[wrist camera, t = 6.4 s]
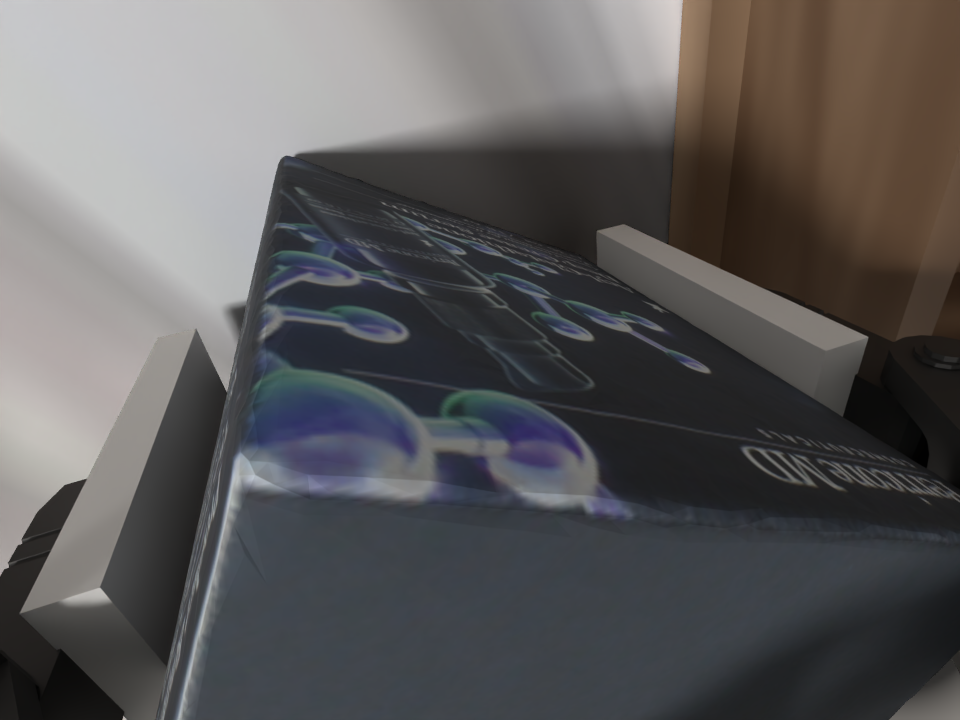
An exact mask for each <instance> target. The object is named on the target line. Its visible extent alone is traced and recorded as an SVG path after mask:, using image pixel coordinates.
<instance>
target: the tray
mask: <svg viewBox="0 0 960 720" xmlns="http://www.w3.org/2000/svg"><path fill="white" fill-rule="evenodd" d="M668 245H670V246H672V247H674V248H676V249H679V250H681V251H683V252H685V253H687V254H689V255H692V256H694V257H696V258H698V259H700V260H703V261H705V262H707V263H709V264H711V265H713V266H716V267H718V268H720V269H722V270H724V271H726V272H729V273H731V274H733V275H735V276H737V277H739V278H742V279H744V280H746V281H748V282H750V283H752V284H755V285H757V286H759V287H763V288H767V289H772V290H776V291H780V292H783V293H786V294H788V295H790V296H792V297H795V298H797V299H799V300H801V301H803V302H805V305H808V304H810V305H812V306H815V307H817V308H819V309H821V310H823V311H824V313H825V314H826V313H830V314H832V315H835V316H837V317H839V318H841V319H843V320H846V321H848V322H850V323H852V324H855V325H857V326H859V327H861V328H863V329H866V330H868V331H870V332H872V333H875V334H877V335H879V336H881V337H883V338H886V339H888V340H890V341H892V342H895V341H897V340H899V339H901V338H904V337H909V336H918V335H929V336H943V337H948V338H953V339H958V340H960V0H683V8H682V25H681V41H680V58H679V74H678V90H677V107H676V123H675V140H674V156H673V173H672V189H671V206H670V222H669V239H668Z"/></svg>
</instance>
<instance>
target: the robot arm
mask: <svg viewBox="0 0 960 720" xmlns="http://www.w3.org/2000/svg"><path fill="white" fill-rule="evenodd" d="M597 266H598V267H600V268H601V269H603V270H605V271H606V272H608V273H609V274H611V275H613V276H614V277H616V278H617V279H619V280H620V281H622V282H624V283H625V284H627V285H629V286H630V287H632V288H633V289H635V290H636V291H638V292H640V293H642V294H643V295H645V296H646V297H648V298H649V299H651V300H653V301H655V302H656V303H658V304H659V305H661V306H663V307H665V308H666V309H668V310H670V311H672V312H673V313H675V314H677V315H678V316H680V317H681V318H683V319H684V320H686V321H688V322H689V323H691V324H692V325H694V326H696V327H697V328H699V329H701V330H703V331H705V332H706V333H708V334H710V335H711V336H713V337H714V338H716V339H718V340H719V341H721V342H722V343H724V344H726V345H727V346H729V347H730V348H732V349H734V350H735V351H737V352H739V353H740V354H742V355H743V356H745V357H746V358H748V359H749V360H751V361H753V362H754V363H756V364H758V365H759V366H761V367H763V368H764V369H766V370H768V371H769V372H771V373H773V374H774V375H776V376H778V377H779V378H781V379H782V380H784V381H786V382H787V383H789V384H790V385H792V386H794V387H795V388H797V389H799V390H800V391H802V392H803V393H805V394H807V395H808V396H810V397H812V398H813V399H815V400H817V401H818V402H820V403H821V404H823V405H825V406H826V407H828V408H830V409H831V410H833V411H834V412H836V413H837V414H839V415H841V416H842V417H844V418H845V419H847V420H848V421H850V422H852V423H853V424H855V425H857V426H858V427H860V428H862V429H863V430H865V431H866V432H868V433H869V434H871V435H872V436H874V437H875V438H877V439H879V440H881V441H882V442H884V443H886V444H887V445H889V446H891V447H893V448H894V449H896V450H897V451H899V452H901V453H902V454H904V455H905V456H907V457H908V458H910V459H912V460H913V461H915V462H916V463H918V464H920V465H921V466H923V467H925V468H927V469H929V470H930V471H932V472H934V473H935V474H937V475H938V476H940V477H941V478H943V479H944V480H946V481H947V482H949V483H950V484H952V485H953V486H955V487H956V488H958V489H960V340H958V339H953V338H948V337H943V336H929V335H918V336H909V337H904V338H901V339H899V340H897V341H895V342H892V341H890V340H888V339H886V338H883V337H881V336H879V335H877V334H875V333H872V332H870V331H868V330H866V329H863V328H861V327H859V326H857V325H855V324H852V323H850V322H848V321H846V320H843V319H841V318H839V317H837V316H835V315H832V314H830V313H826V314H825V313H824V311H823V310H821V309H819V308H817V307H815V306H812V305H810V304H808V305H805V302H803V301H801V300H799V299H797V298H795V297H792V296H790V295H788V294H786V293H783V292H780V291H776V290H772V289H767V288H763V287H759V286H757V285H755V284H752V283H750V282H748V281H746V280H744V279H742V278H739V277H737V276H735V275H733V274H731V273H729V272H726V271H724V270H722V269H720V268H718V267H716V266H713V265H711V264H709V263H707V262H705V261H703V260H700V259H698V258H696V257H694V256H692V255H689V254H687V253H685V252H683V251H681V250H679V249H676V248H674V247H672V246H670V245H668V244H666V243H663V242H661V241H659V240H657V239H655V238H653V237H650V236H648V235H646V234H644V233H642V232H640V231H637V230H635V229H633V228H631V227H629V226H627V225H624V224H623V225H619V226H615V227H611V228H606V229H602V230H598V231H597ZM226 395H227V392H226V390H225V388H224V386H223V384H222V382H221V380H220V377H219V375H218V373H217V371H216V369H215V367H214V365H213V363H212V361H211V359H210V357H209V355H208V352H207V350H206V348H205V346H204V344H203V342H202V340H201V338H200V336H199V334H198V332H197V329H192V330H188V331H184V332H180V333H176V334H172V335H168V336H164V337H160V338H158V339H157V341H156V343H155V345H154V347H153V349H152V351H151V353H150V355H149V357H148V359H147V361H146V363H145V365H144V367H143V369H142V371H141V373H140V375H139V377H138V379H137V381H136V383H135V384H134V386H133V388H132V390H131V392H130V394H129V396H128V398H127V400H126V402H125V404H124V406H123V408H122V410H121V412H120V414H119V416H118V418H117V420H116V422H115V424H114V426H113V428H112V430H111V432H110V434H109V436H108V438H107V440H106V442H105V444H104V446H103V448H102V450H101V452H100V454H99V456H98V458H97V460H96V462H95V464H94V466H93V468H92V470H91V472H90V474H89V476H88V478H87V479H84V480H81V481H77V482H74V483H70V484H67V485H64V486H63V487H62V488H61V489H60V490H59V491H58V492H57V493H56V494H55V495H54V496H53V497H52V498H51V499H50V500H49V501H48V502H47V503H46V504H45V505H44V506H43V507H42V508H41V509H40V510H39V511H38V512H37V514H36V515H35V517H34V519H33V521H32V522H31V524H30V526H29V527H28V529H27V531H26V533H25V534H24V536H23V538H22V544H21V545H18V547H17V548H16V550H15V552H14V553H13V555H12V557H11V559H10V560H9V562H8V564H9V568H7V569H4V571H3V573H2V574H1V576H0V720H122V719H123V716H124V717H125V718H126V719H127V720H155V719H156V714H157V710H158V706H159V701H160V696H161V692H162V687H163V683H164V679H165V674H166V670H167V666H168V661H169V657H170V652H171V647H172V643H173V638H174V633H175V629H176V624H177V619H178V615H179V610H180V605H181V601H182V597H183V592H184V587H185V583H186V578H187V573H188V569H189V564H190V560H191V555H192V550H193V544H194V540H195V536H196V531H197V525H198V522H199V518H200V514H201V509H202V505H203V499H204V495H205V491H206V487H207V482H208V478H209V473H210V468H211V463H212V459H213V455H214V450H215V446H216V441H217V437H218V433H219V428H220V423H221V419H222V414H223V409H224V404H225V400H226ZM951 659H952V660H953V662H954V664H955V666H956V667H957V669H958V671H959V673H960V650H959V651H958V652H957V653H956V654H955V655H954V656H953V657H952V658H951Z"/></svg>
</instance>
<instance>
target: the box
mask: <svg viewBox="0 0 960 720" xmlns="http://www.w3.org/2000/svg"><path fill="white" fill-rule="evenodd" d="M959 650H960V489H958V488H956V487H955V486H953V485H952V484H950V483H949V482H947V481H946V480H944V479H943V478H941V477H940V476H938V475H937V474H935V473H934V472H932V471H930V470H929V469H927V468H925V467H923V466H921V465H920V464H918V463H916V462H915V461H913V460H912V459H910V458H908V457H907V456H905V455H904V454H902V453H901V452H899V451H897V450H896V449H894V448H893V447H891V446H889V445H887V444H886V443H884V442H882V441H881V440H879V439H877V438H875V437H874V436H872V435H871V434H869V433H868V432H866V431H865V430H863V429H862V428H860V427H858V426H857V425H855V424H853V423H852V422H850V421H848V420H847V419H845V418H844V417H842V416H841V415H839V414H837V413H836V412H834V411H833V410H831V409H830V408H828V407H826V406H825V405H823V404H821V403H820V402H818V401H817V400H815V399H813V398H812V397H810V396H808V395H807V394H805V393H803V392H802V391H800V390H799V389H797V388H795V387H794V386H792V385H790V384H789V383H787V382H786V381H784V380H782V379H781V378H779V377H778V376H776V375H774V374H773V373H771V372H769V371H768V370H766V369H764V368H763V367H761V366H759V365H758V364H756V363H754V362H753V361H751V360H749V359H748V358H746V357H745V356H743V355H742V354H740V353H739V352H737V351H735V350H734V349H732V348H730V347H729V346H727V345H726V344H724V343H722V342H721V341H719V340H718V339H716V338H714V337H713V336H711V335H710V334H708V333H706V332H705V331H703V330H701V329H699V328H697V327H696V326H694V325H692V324H691V323H689V322H688V321H686V320H684V319H683V318H681V317H680V316H678V315H677V314H675V313H673V312H672V311H670V310H668V309H666V308H665V307H663V306H661V305H659V304H658V303H656V302H655V301H653V300H651V299H649V298H648V297H646V296H645V295H643V294H642V293H640V292H638V291H636V290H635V289H633V288H632V287H630V286H629V285H627V284H625V283H624V282H622V281H620V280H619V279H617V278H616V277H614V276H613V275H611V274H609V273H608V272H606V271H605V270H603V269H601V268H600V267H598V266H596V265H595V264H593V263H592V262H590V261H588V260H587V259H585V258H583V257H582V256H581V255H578V254H575V253H572V252H568V251H565V250H562V249H559V248H556V247H553V246H550V245H547V244H544V243H541V242H538V241H535V240H532V239H529V238H526V237H523V236H520V235H517V234H514V233H511V232H508V231H505V230H502V229H500V228H496V227H493V226H490V225H488V224H485V223H483V222H478V221H475V220H472V219H469V218H466V217H463V216H460V215H457V214H455V213H452V212H449V211H447V210H445V209H441V208H437V207H434V206H431V205H428V204H426V203H425V202H420V201H415V200H412V199H410V198H407V197H404V196H401V195H398V194H395V193H392V192H389V191H387V190H384V189H381V188H378V187H375V186H372V185H369V184H366V183H364V182H363V181H361V180H359V179H354V178H349V177H346V176H344V175H342V174H338V173H335V172H332V171H329V170H327V169H325V168H323V167H320V166H317V165H314V164H311V163H309V162H306V161H303V160H301V159H297V158H294V157H291V156H284V157H283V158H282V159H281V160H280V162H279V164H278V168H277V171H276V176H275V180H274V184H273V188H272V193H271V197H270V201H269V206H268V211H267V216H266V220H265V225H264V229H263V233H262V238H261V242H260V247H259V251H258V256H257V260H256V263H255V269H254V273H253V277H252V282H251V286H250V290H249V295H248V299H247V304H246V309H245V313H244V318H243V323H242V327H241V332H240V336H239V341H238V345H237V349H236V353H235V357H234V364H233V368H232V372H231V377H230V382H229V387H228V391H227V395H226V400H225V404H224V409H223V414H222V419H221V423H220V428H219V433H218V437H217V441H216V446H215V450H214V455H213V459H212V463H211V468H210V473H209V478H208V482H207V487H206V491H205V495H204V499H203V505H202V509H201V514H200V518H199V522H198V525H197V531H196V536H195V540H194V544H193V550H192V555H191V560H190V564H189V569H188V573H187V578H186V583H185V587H184V592H183V597H182V601H181V605H180V610H179V615H178V619H177V624H176V629H175V633H174V638H173V643H172V647H171V652H170V657H169V661H168V666H167V670H166V674H165V679H164V683H163V687H162V692H161V696H160V701H159V706H158V710H157V714H156V719H155V720H889V719H890V718H891V717H892V716H893V715H894V714H895V713H896V712H897V711H898V710H899V709H900V708H901V707H902V706H903V705H904V703H905V702H906V701H908V700H909V699H910V698H912V697H913V696H914V695H915V694H916V693H917V692H918V691H919V690H920V689H921V688H922V687H923V686H924V684H925V683H927V682H928V681H929V680H930V679H931V678H932V677H933V676H934V675H935V674H936V673H937V672H938V671H939V670H940V669H941V668H942V667H943V666H944V665H945V664H946V663H947V662H948V661H949V660H950V659H951V658H952V657H953V656H954V655H955V654H956V653H957V652H958V651H959Z"/></svg>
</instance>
